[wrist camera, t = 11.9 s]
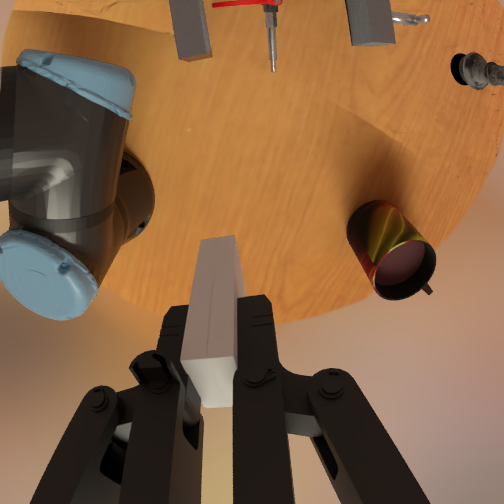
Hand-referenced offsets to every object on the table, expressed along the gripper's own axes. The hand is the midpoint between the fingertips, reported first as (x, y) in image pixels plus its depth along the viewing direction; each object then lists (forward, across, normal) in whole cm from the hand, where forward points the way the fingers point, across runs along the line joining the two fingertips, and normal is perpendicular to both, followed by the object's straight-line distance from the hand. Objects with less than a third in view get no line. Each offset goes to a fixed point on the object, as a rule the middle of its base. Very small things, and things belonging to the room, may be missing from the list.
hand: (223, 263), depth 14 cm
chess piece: (+30, +36, +9) cm, 47 cm away
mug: (+30, +22, -18) cm, 41 cm away
